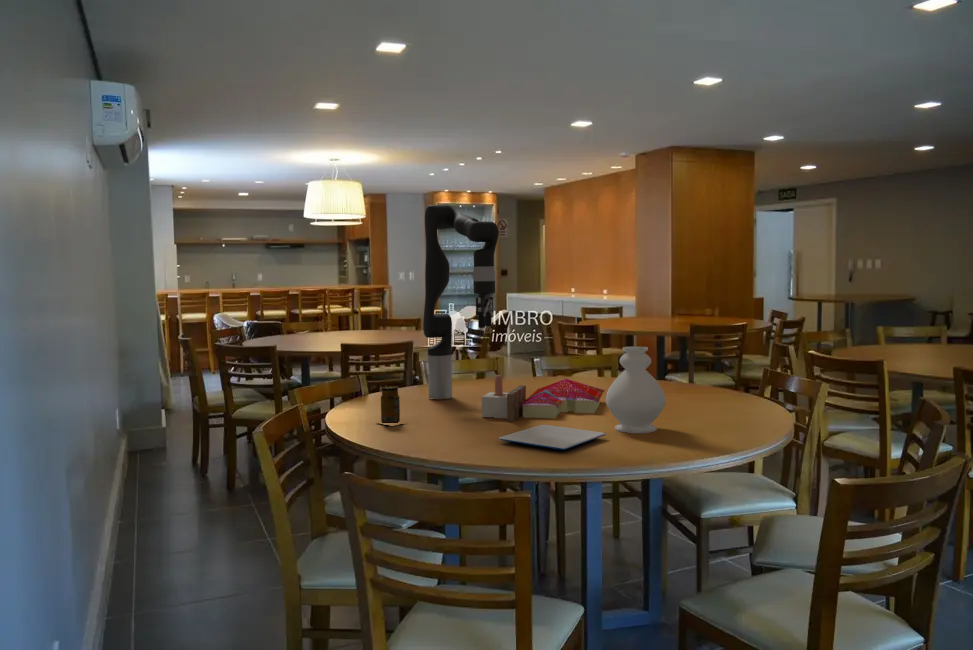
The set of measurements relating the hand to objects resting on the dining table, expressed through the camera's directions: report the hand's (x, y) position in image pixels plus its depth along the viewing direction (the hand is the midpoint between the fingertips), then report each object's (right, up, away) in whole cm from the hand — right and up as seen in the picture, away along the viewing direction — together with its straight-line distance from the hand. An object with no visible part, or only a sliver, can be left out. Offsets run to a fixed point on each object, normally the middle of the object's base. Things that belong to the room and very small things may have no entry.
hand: (485, 327), depth 252 cm
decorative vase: (+46, -31, -29) cm, 63 cm away
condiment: (-31, -32, -13) cm, 46 cm away
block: (+5, -30, -2) cm, 31 cm away
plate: (+19, -33, -43) cm, 58 cm away
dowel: (+5, -29, -2) cm, 29 cm away
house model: (+28, -30, +8) cm, 42 cm away
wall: (+11, -30, -4) cm, 32 cm away
